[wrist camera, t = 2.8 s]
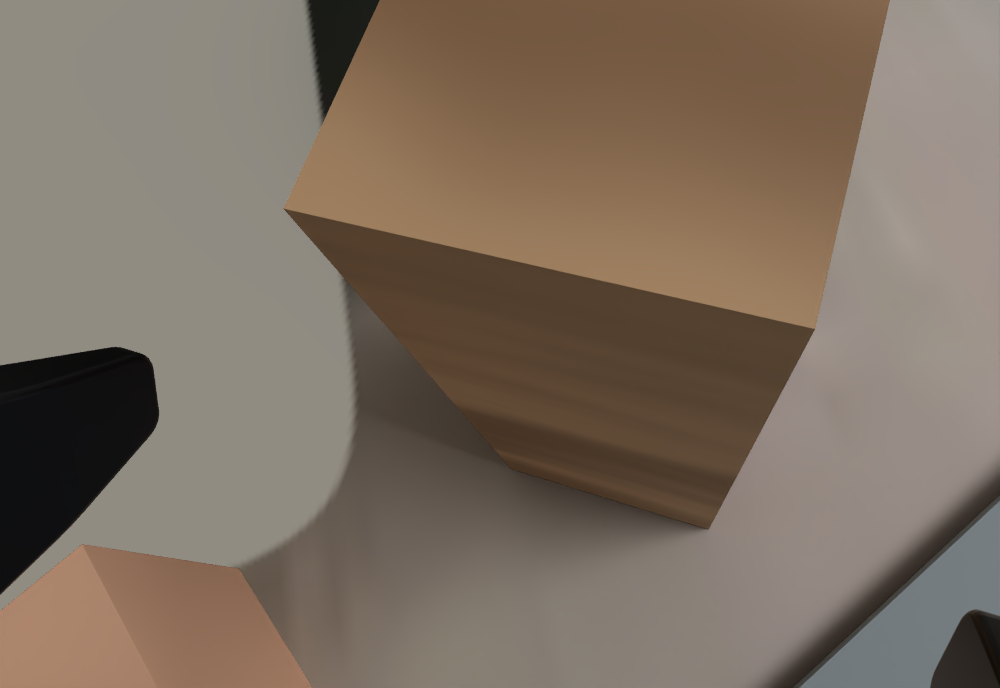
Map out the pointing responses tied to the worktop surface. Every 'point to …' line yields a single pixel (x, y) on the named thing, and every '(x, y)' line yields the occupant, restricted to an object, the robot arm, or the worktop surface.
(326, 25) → the worktop surface
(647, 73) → the walnut brick
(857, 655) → the slate mat
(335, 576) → the worktop surface
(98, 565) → the terracotta brick
